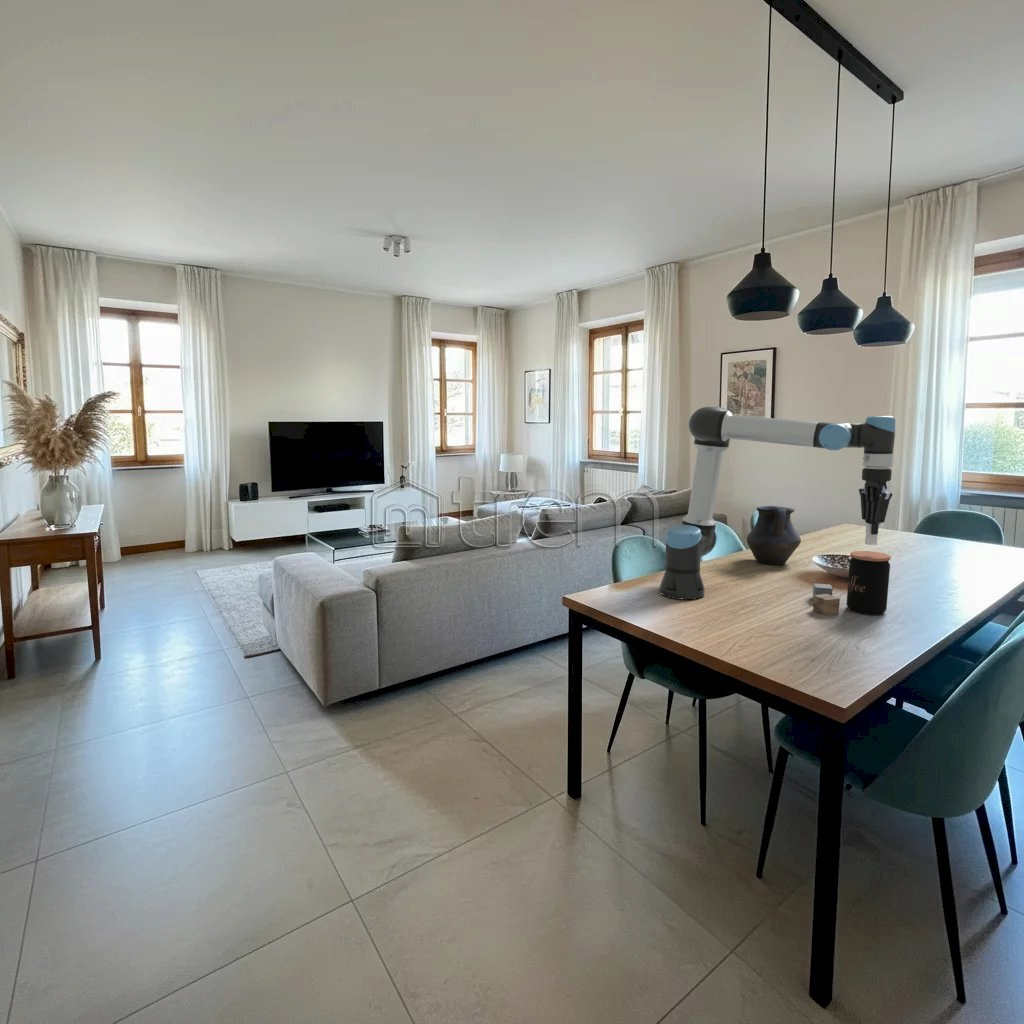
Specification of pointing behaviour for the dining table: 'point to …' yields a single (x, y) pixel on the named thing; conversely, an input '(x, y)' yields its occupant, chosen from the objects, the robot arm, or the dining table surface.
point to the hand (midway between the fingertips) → (870, 544)
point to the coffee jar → (868, 582)
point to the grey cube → (822, 589)
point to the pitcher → (773, 535)
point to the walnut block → (826, 604)
